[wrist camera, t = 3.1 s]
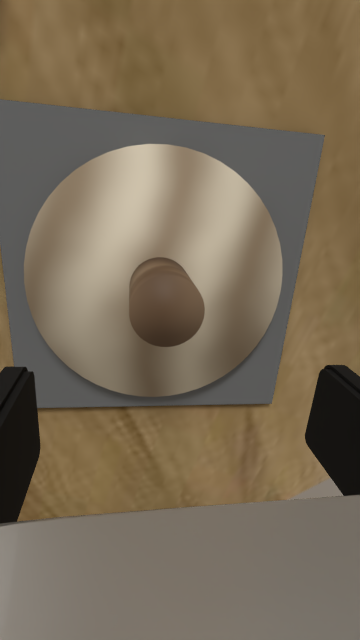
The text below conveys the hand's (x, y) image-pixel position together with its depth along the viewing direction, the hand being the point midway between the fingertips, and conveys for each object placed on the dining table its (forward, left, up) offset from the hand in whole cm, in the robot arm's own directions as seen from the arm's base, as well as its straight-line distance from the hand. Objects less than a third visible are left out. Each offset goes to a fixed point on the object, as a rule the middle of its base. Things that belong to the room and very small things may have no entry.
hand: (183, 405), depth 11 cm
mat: (0, 0, -14) cm, 14 cm away
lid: (0, 0, -14) cm, 14 cm away
